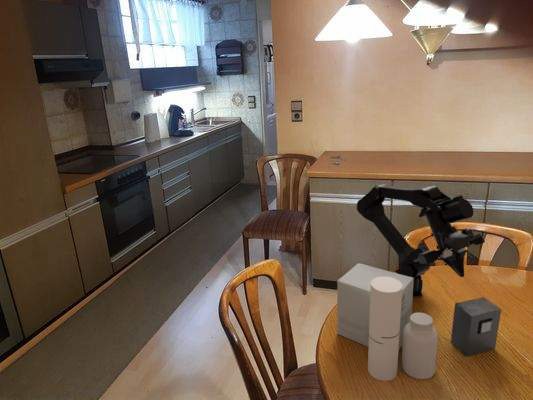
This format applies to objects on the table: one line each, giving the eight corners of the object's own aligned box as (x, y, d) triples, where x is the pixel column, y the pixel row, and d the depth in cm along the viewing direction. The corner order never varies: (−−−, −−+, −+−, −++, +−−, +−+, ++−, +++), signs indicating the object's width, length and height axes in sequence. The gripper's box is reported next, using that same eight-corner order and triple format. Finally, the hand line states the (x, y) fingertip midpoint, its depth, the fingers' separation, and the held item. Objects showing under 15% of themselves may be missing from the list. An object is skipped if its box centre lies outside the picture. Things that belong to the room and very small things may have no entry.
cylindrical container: (398, 382, 96) (404, 293, 88) (368, 379, 98) (371, 291, 90) (395, 361, 103) (400, 277, 95) (367, 359, 104) (370, 275, 96)
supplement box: (411, 332, 114) (415, 277, 108) (393, 359, 104) (396, 299, 98) (357, 312, 124) (358, 261, 119) (335, 334, 115) (335, 280, 109)
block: (450, 342, 109) (455, 303, 105) (478, 335, 111) (483, 297, 107) (466, 356, 103) (471, 316, 99) (495, 349, 105) (501, 309, 101)
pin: (454, 319, 109) (456, 303, 107) (470, 315, 110) (472, 299, 108) (476, 337, 101) (478, 320, 100) (493, 333, 102) (496, 316, 101)
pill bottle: (407, 353, 106) (411, 305, 101) (439, 366, 101) (444, 316, 96) (396, 371, 100) (399, 321, 95) (428, 385, 95) (433, 333, 90)
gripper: (424, 234, 109) (447, 289, 106) (484, 212, 111) (508, 265, 108) (408, 237, 120) (428, 287, 117) (463, 217, 122) (484, 266, 119)
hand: (462, 276), depth 115 cm, fingers closed
